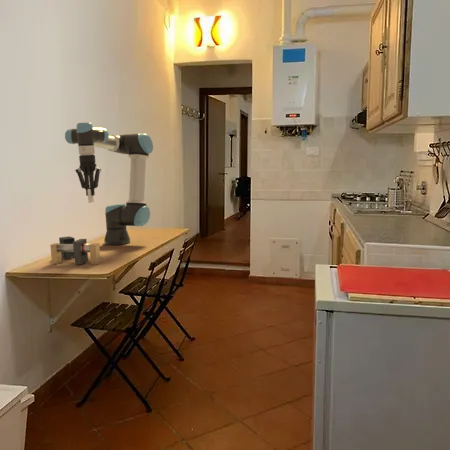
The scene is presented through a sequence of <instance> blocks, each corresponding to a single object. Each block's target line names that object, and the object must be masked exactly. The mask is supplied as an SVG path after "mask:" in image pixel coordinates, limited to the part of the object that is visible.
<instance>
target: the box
mask: <svg viewBox="0 0 450 450" xmlns="http://www.w3.org/2000/svg"><path fill="white" fill-rule="evenodd" d="M58 240H59V242H58V243H60V244H73V242H74V241H76V240H75V237H74V236H73V237H72V236H61V237H59V238H58ZM61 257H62V259H63V260H71V259H74V252H61Z"/></svg>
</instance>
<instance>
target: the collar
mask: <svg viewBox="0 0 450 450" xmlns="http://www.w3.org/2000/svg"><path fill="white" fill-rule="evenodd" d="M82 244H88V241H87V238H79V239H76V240H75V241H74V242H73V249H74V258H73V259H74V260H73V261H74V265H83V264H85V263H87V262H88V261H89V254H88V253H89V252H81V246H80V245H82Z"/></svg>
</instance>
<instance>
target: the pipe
mask: <svg viewBox="0 0 450 450" xmlns="http://www.w3.org/2000/svg"><path fill="white" fill-rule="evenodd" d="M80 246H81V252H88V253H89V254H90V265H98V264H101V262H102V261H101V249H100V243H99V242H94V243H87V244H82V245H80ZM61 252H74V249H73V244H60V242H55V243H51V244H50V255H51V256H50V257H51V265H59V264H62V263H63V260H62V259H63V258H62V257H61Z"/></svg>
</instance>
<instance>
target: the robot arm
mask: <svg viewBox="0 0 450 450" xmlns="http://www.w3.org/2000/svg"><path fill="white" fill-rule="evenodd" d="M64 139H65V141H66V142H67V143H68V144H70V145H71V144H72V145H75V144H76V145H77V148H78V154H79V156H78V157H79V166H78V168H76V169H75V170H74V171H75V172H76V174H77V177H78V180H79V182H80V185H81V186H80V187H81V189H84V190H85V193H86V194H85V195H86V196H87V198H88V199H87V201H88V203H91V204H92V203H94V202H95V200H94V196H95V195H96V194H95V189H97V188H98V187H99V179H100V173H101V171H102V168H99V167H98V166H97V163H96V155H95V147H96V148H100V149H107V151H109V152H113V153H117V154H122V155H128V157H129V159H130V172H129V173H130V174H129V177H130V178H129V190H128V191H129V193H128V195H129V196H128V200H127V201H126V203H119V204H113V205H107V206H106V207H105V212H104V214H105V226H106V228H105V229H106V231H105V236H104V240H103V241H104V245H106V246H118V245H119V246H120V245H127V244H130V243H131V237H130V235H129V233H128V230H127V227H144V226H146V225H147V224H148V223H149V221H150V217H151V211H150V207H148V206H147V202H146V201H145V185H146V183H145V182H146V162H147V159H149V158H150V157H149V154H150V155H151V154H152V152H153V150H154V145H153V140H152V137H151V136H150V135H149V134H148V133H130V134H129V133H128V134H126V133H125V134H119V135H117V134H116V135H115V134H111V135H109V131H108V129H106V128H104V127H97V126H96V127H94V126H93V123H92V122H78V123H77V124H76V128H70V129H67V130H66V131H65V133H64Z"/></svg>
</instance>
